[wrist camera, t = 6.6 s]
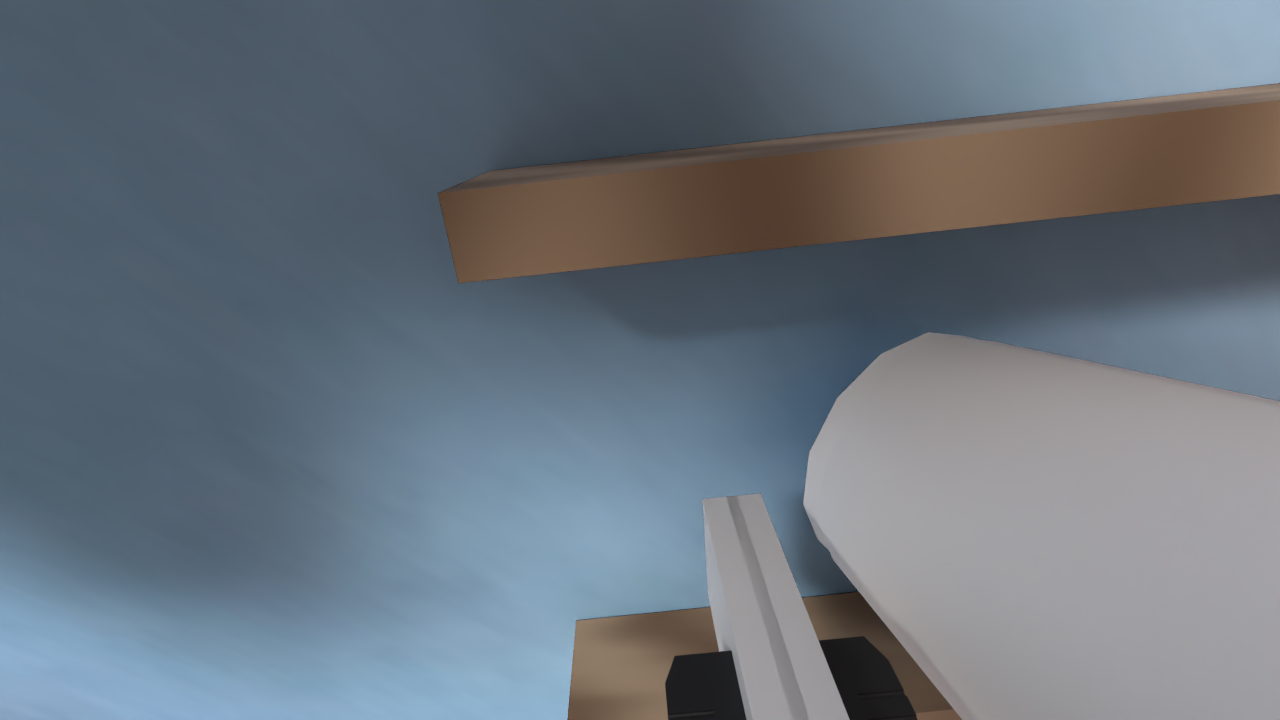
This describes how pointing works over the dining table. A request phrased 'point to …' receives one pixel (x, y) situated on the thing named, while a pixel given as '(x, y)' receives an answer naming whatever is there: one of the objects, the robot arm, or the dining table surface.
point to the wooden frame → (835, 212)
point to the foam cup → (1059, 531)
